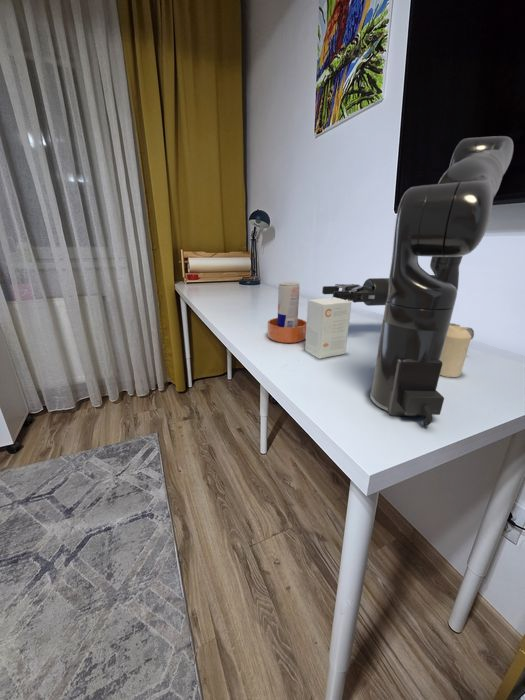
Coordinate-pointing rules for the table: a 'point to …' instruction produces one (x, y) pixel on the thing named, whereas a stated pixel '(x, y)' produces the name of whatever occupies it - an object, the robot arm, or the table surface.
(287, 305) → the beverage can
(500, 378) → the table surface
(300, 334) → the bowl
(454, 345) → the candle
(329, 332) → the small box
